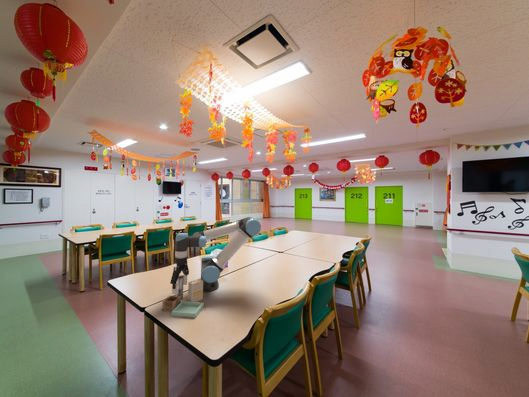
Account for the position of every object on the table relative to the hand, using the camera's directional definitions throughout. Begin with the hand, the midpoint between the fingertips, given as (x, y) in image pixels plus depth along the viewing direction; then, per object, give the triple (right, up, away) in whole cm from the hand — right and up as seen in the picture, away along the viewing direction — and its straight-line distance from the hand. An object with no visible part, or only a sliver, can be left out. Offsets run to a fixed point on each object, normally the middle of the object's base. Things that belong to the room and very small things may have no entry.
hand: (179, 288), depth 134 cm
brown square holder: (-1, -7, -10) cm, 12 cm away
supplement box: (+11, -7, -2) cm, 13 cm away
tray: (+11, -7, -14) cm, 19 cm away
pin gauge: (0, -7, 0) cm, 7 cm away
